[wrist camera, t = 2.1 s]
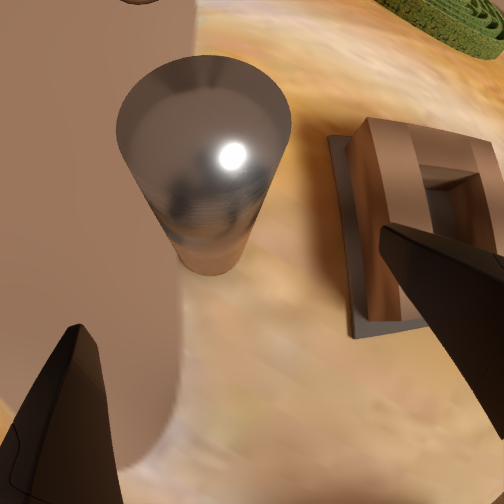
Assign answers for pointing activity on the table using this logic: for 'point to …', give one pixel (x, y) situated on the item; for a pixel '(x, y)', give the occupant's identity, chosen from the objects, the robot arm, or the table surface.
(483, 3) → the maze
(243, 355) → the table surface
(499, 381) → the robot arm
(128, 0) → the wooden toy train
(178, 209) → the steel pin
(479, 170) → the socket block
